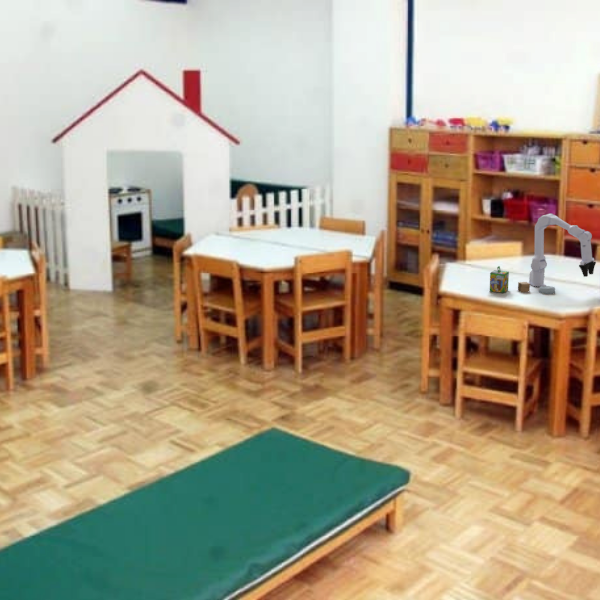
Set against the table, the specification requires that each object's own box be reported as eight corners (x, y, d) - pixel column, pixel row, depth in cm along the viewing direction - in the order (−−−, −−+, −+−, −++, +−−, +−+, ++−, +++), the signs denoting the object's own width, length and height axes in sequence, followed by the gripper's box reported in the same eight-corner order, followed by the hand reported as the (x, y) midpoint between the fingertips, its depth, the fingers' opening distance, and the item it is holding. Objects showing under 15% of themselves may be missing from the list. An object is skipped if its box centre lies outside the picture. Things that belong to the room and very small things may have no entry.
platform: (536, 291, 523) (536, 286, 522) (550, 290, 525) (550, 285, 524) (543, 294, 515) (543, 289, 514) (557, 294, 516) (557, 289, 516)
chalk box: (504, 293, 518) (505, 268, 514) (488, 291, 522) (490, 267, 519) (508, 290, 526) (509, 265, 522) (493, 288, 530) (494, 264, 526)
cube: (517, 290, 525) (518, 282, 524) (525, 290, 526) (526, 281, 525) (521, 292, 520) (522, 284, 519) (529, 291, 521) (529, 283, 520)
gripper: (587, 254, 505) (589, 277, 507) (598, 250, 516) (600, 273, 518) (576, 254, 510) (578, 277, 512) (586, 250, 520) (588, 273, 522)
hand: (588, 275), depth 515 cm, fingers open, 7 cm apart
